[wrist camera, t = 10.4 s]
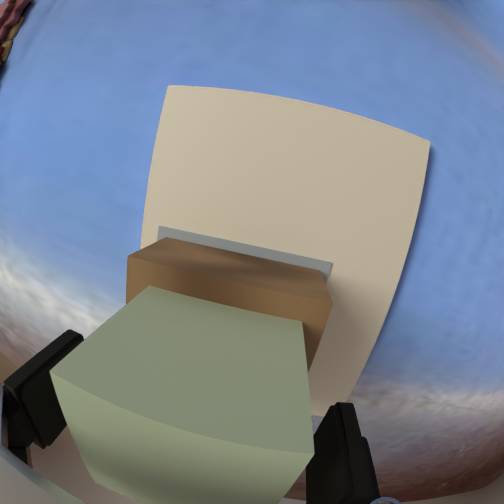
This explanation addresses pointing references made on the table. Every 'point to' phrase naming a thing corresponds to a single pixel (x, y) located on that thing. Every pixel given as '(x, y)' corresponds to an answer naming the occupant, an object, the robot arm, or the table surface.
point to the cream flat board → (293, 204)
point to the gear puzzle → (10, 24)
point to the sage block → (190, 402)
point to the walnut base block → (234, 283)
